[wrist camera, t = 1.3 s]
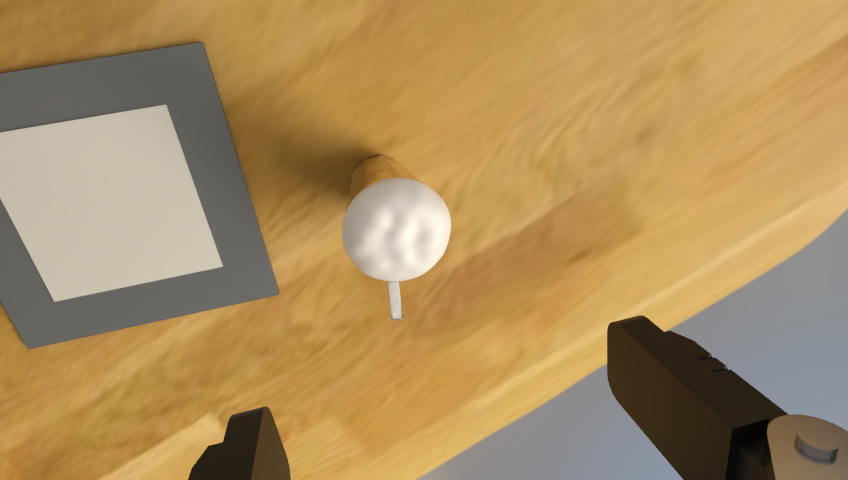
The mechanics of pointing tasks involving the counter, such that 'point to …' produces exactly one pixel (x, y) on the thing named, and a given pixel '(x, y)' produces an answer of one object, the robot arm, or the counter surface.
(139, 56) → the pad
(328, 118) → the counter surface
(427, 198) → the milkshake
